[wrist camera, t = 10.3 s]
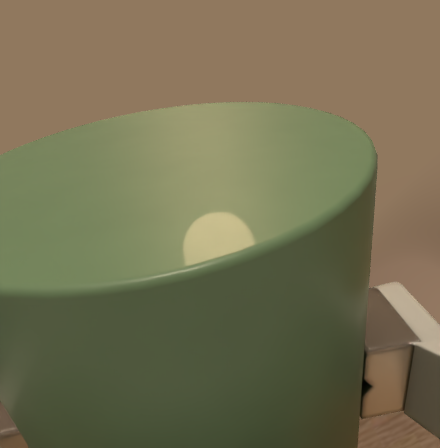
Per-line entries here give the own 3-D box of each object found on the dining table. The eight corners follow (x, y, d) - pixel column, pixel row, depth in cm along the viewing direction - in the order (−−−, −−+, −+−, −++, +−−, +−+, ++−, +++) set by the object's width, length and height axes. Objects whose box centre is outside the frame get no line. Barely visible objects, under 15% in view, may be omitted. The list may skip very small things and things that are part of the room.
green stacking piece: (76, 584, 10) (-182, 224, 5) (201, 398, 14) (132, 100, 9) (299, 782, 7) (238, 404, 2) (373, 474, 11) (414, 101, 6)
